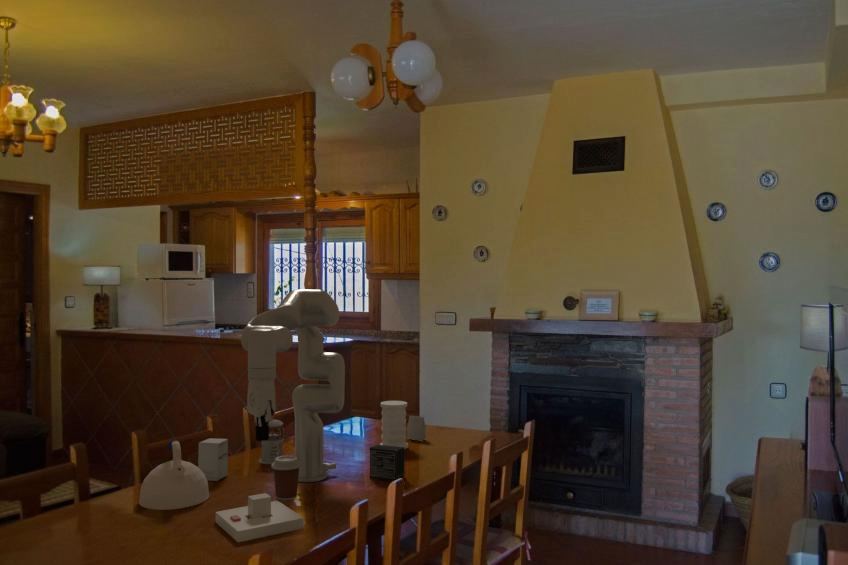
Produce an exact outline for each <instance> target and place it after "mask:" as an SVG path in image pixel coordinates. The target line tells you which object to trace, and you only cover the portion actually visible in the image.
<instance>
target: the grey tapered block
mask: <svg viewBox="0 0 848 565" xmlns="http://www.w3.org/2000/svg"><path fill="white" fill-rule="evenodd" d="M426 434H427V433H426V422H425V417H424V416H418V415H415V416H414V415H409V417H408V422H407V426H406V440H407V439H412V440H421V441H422V440H424V439H427V438H426ZM422 442H423V441H422Z"/></svg>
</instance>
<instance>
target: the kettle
mask: <svg viewBox="0 0 848 565" xmlns="http://www.w3.org/2000/svg"><path fill="white" fill-rule="evenodd" d="M167 450H169V451H172V458H171V460H169V461H166V462H163V463H161V464H158V465H157V466H156V467H155V468H153V469H152V470H151V471H150V472H149V473H148V475H146V476H145V478H144V480H143V482H142V484H141V487H140V492H139V500H138V505H139V506H140V507H141V508H144V509H148V510H155V511H156V510H157V511H165V510H166V511H171V510H179V509H181V510H182V509H185V508H186V507H187V508H191V507H195V506H198V505H201V504H202V503H204V502H206V501H207V500H209V498H210V493H209V483H208V480H207V479H206V477H205V475H204V473H203V472H202V471H201V470H200V469H199V468H198V465H195V464H193V463H192V462H189V461H185V460H182V450H181V444H180V441H179V440H177V439H171V440H170V441H169V442H168V444H167ZM194 505H195V506H194ZM190 506H191V507H190Z"/></svg>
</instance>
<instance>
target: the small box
mask: <svg viewBox="0 0 848 565" xmlns="http://www.w3.org/2000/svg"><path fill="white" fill-rule="evenodd" d="M403 477H404V478H405V450H404V447H397V446H387V445H380V444H377V445H374V446H371V447H369V478H370V479H373V480H382V481H389V482H394V481H393V480H396V479H398V478H402V479H404V478H403Z"/></svg>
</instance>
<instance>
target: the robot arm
mask: <svg viewBox="0 0 848 565" xmlns="http://www.w3.org/2000/svg"><path fill="white" fill-rule="evenodd" d="M339 319H340V310H339V306H338V304H337V302H336V301H335V300H334V298H333V297H332V296H331V295H330V293H328V292H327V291H325V290H323V289H311V288H310V289H305V288H304V289H300V288H299V289H293V290H290V291H289V292H288V293H287V294H286V295H285V297H284V298H283V299H282V301H281V302H280V303H279V304H278V306H277V307H275V308H272V309H269V310H267V311H264V312H261V313H260V314H257V315H256V316H254V317H252V318H251V319H250V320H249V322H248V323H247V324H246V326H244V328H243V329H242V330H243V331H242V332H241V336H240V343H241V346H242V348H243V349H244V351H247V380H248V384H247V394H246V395H247V396H246V397H247V398H246V400H247V401H246V412H248V413H249V414H250V415H252V416H254V424H255V441H258V442H262V441H264V440H265V441H269V440H268V439H269V433H270V427H269V421H272V416H273V417H274V415H275V414H276V408H277V407H276V406H277V404H276V402H277V401H276V400H277V399H276V386H275V385H276V384H275V380H276V379H277V353H284V352H286V351H288V350H289V349H291V347H292V345H293V339H294V335H293V332H292V331H293V330H295V333H296V336H297V339H298V342H297V343H298V345H297V346H298V348H297V349H298V352H297V354H298V355H297V372H298V373H297V374H298V376H299V378H301V379H302V380H304V381H305V380H307V381H328V382H329V384H323V383H322V384H320V383H305V384H304V383H303V384H300V385H297V386H296V387H295V388H294V389H293V392H292V394H291V395H292V396H291V399H292V400H291V401H292V405H293V406H292V408H293V414H294V456H296V457H297V458H298V460H299V462H301V467H299V477H298V483H314V482H320V481H323V480H325V479H327V478H328V471H329V470H336V469H337V463H336V462H334V463H329V462H326V463H325V462H324V423H323V421H322V419H321V417H320V416H319V413H320V414H337V413H338V414H339V413H340V412H342V410H343V408H344V405H345V390H346V389H345V386H346V385H345V384H346V382H345V381H346V380H345V378H346V377H345V376H346V364H345V360H344V357H343V355H342V354H341V353H338V352H327V351H324V336H323V334H322V332H321V331H320V329H319V328H318V327H320V328H321V327H324V328H325V327H327V328H328V327H329V328H330V327H333V326H335V325H336V324H337V323H338V322H339Z"/></svg>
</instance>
